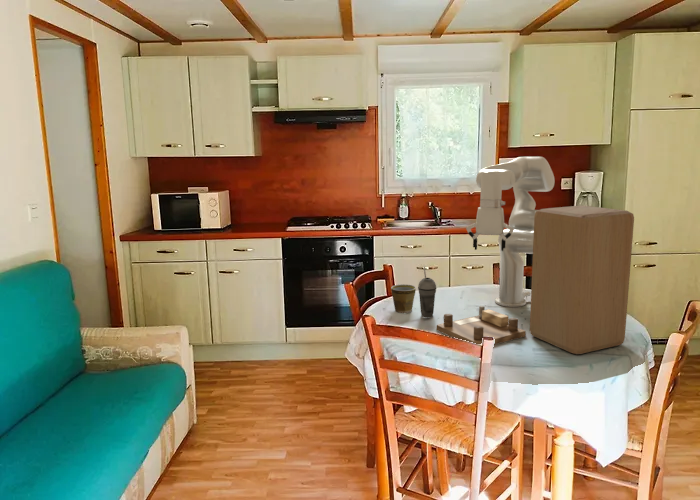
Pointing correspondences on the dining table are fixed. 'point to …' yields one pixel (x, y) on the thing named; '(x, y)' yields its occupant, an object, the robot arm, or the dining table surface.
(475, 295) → the dining table surface
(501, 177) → the robot arm
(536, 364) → the dining table surface
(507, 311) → the dining table surface
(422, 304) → the beverage cup
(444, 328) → the board
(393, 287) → the ceramic cup
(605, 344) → the wooden block
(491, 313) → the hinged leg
